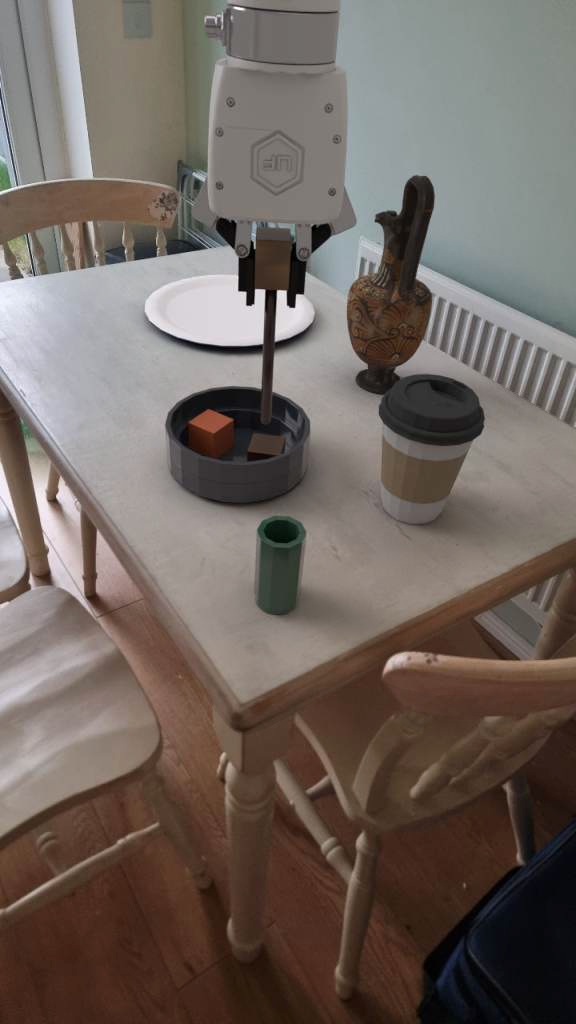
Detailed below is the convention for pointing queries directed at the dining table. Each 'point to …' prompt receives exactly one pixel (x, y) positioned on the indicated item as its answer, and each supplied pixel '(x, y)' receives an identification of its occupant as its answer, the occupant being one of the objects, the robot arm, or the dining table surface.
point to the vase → (393, 292)
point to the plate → (222, 312)
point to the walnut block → (265, 447)
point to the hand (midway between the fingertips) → (270, 298)
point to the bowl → (238, 446)
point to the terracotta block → (211, 434)
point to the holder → (279, 564)
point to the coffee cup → (425, 443)
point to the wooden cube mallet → (271, 297)
